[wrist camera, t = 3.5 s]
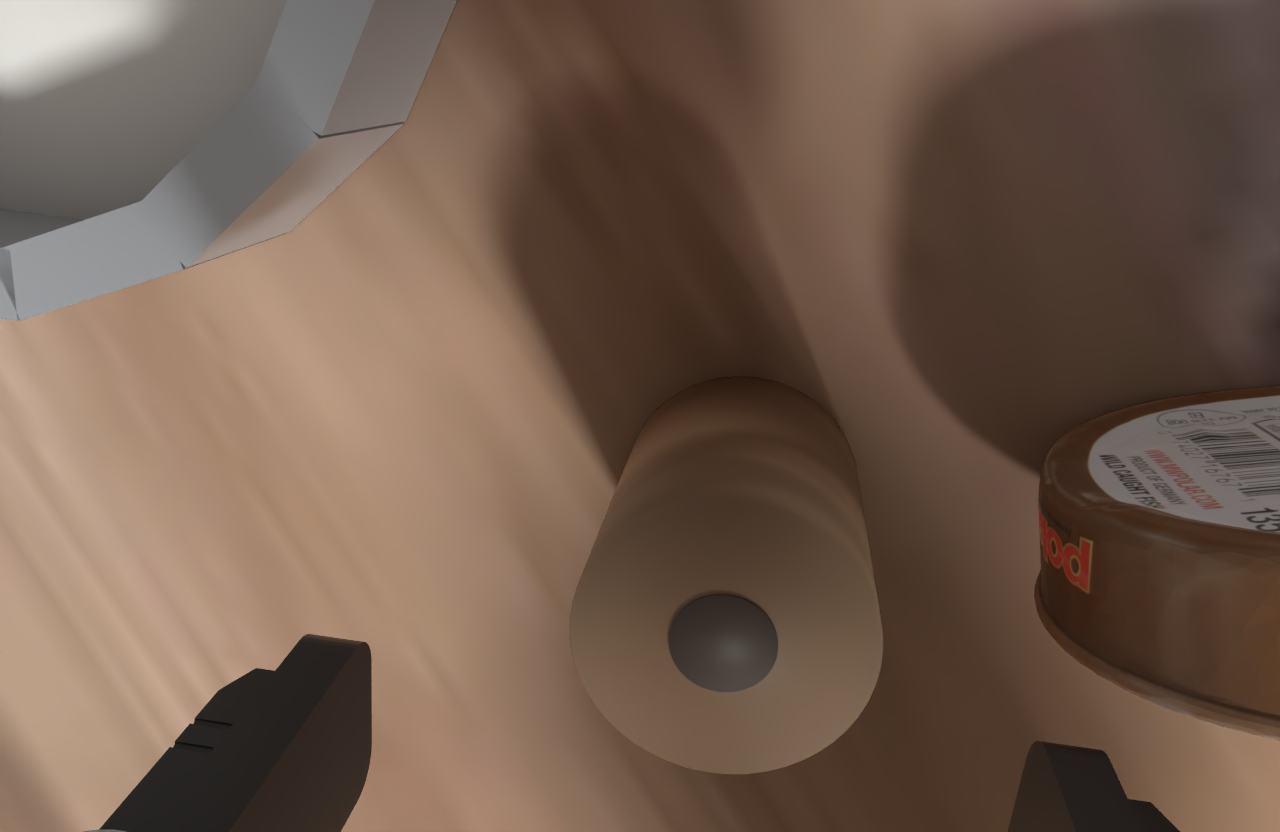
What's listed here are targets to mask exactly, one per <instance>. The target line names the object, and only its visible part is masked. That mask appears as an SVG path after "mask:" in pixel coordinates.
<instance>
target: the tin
mask: <svg viewBox="0 0 1280 832" xmlns="http://www.w3.org/2000/svg"><path fill="white" fill-rule="evenodd" d="M1038 508H1039V528H1040V550H1041V570H1040V573H1039V575H1038V577H1037V581H1036V584H1035V592H1034V597H1035V603H1036V608H1037V611H1038V614H1039V617H1040V619H1041V621H1042V623H1043V625H1044V627H1045V628H1046V630H1047V631H1048V632H1049V633H1050V635H1051V636H1052V637H1053V638H1054V639H1055V640H1056V642H1057V643H1058V644H1059V645H1060V646H1061V647H1062V648H1063V649H1064V650H1065V651H1066V652H1067V653H1069V654H1070V655H1071V656H1072V657H1074V658H1075V659H1076V660H1077V661H1079V662H1080V663H1081V664H1083V665H1084V666H1086V667H1088V668H1089V669H1091V670H1093V671H1094V672H1095V673H1096V674H1097V675H1099V676H1101V677H1103V678H1105V679H1107V680H1109V681H1111V682H1113V683H1115V684H1116V685H1118V686H1120V687H1122V688H1123V689H1125V690H1127V691H1129V692H1131V693H1133V694H1135V695H1138V696H1140V697H1142V698H1145V699H1147V700H1149V701H1152V702H1153V703H1156V704H1158V705H1160V706H1162V707H1164V708H1167V709H1170V710H1173V711H1176V712H1178V713H1181V714H1184V715H1188V716H1191V717H1194V718H1196V719H1199V720H1202V721H1207V722H1211V723H1213V724H1216V725H1219V726H1223V727H1227V728H1231V729H1235V730H1239V731H1243V732H1246V733H1250V734H1253V735H1259V736H1263V737H1267V738H1271V739H1275V740H1279V741H1280V386H1272V387H1260V388H1249V389H1237V390H1225V391H1218V392H1210V393H1202V394H1195V395H1188V396H1181V397H1174V398H1167V399H1162V400H1157V401H1152V402H1147V403H1143V404H1138V405H1134V406H1130V407H1126V408H1123V409H1119V410H1116V411H1112V412H1109V413H1106V414H1104V415H1101V416H1099V417H1096V418H1093V419H1091V420H1089V421H1087V422H1084V423H1082V424H1080V425H1079V426H1077V427H1075V428H1074V429H1072V430H1070V431H1069V432H1068V433H1066V434H1065V435H1063V436H1062V437H1061V438H1060V439H1059V440H1057V441H1056V443H1055V444H1054V445H1053V446H1052V447H1051V449H1050V450H1049V452H1048V453H1047V456H1046V458H1045V461H1044V464H1043V467H1042V470H1041V477H1040V484H1039V498H1038Z"/></svg>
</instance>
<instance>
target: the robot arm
mask: <svg viewBox="0 0 1280 832" xmlns="http://www.w3.org/2000/svg"><path fill="white" fill-rule="evenodd" d="M371 746H372V713H371V651H370V648H369V645H368V644H367V643H366V642H360V641H353V640H347V639H340V638H333V637H326V636H319V635H312V634H307V635H305V636H303V637H302V638H301V639H300V640H299V642H298V643H297V644H296V646H295V647H294V648H293V649H292V651H291V652H290V653H289V654H288V656H287V657H286V658H285V659H284V661H283V662H282V663H281V664H280V666H279V667H278V668H277V669H276V671H272V670H265V669H258V668H256V669H254V670H252V671H251V672H249V673H247V674H245V675H244V676H242V677H240V678H239V679H237V680H235V681H234V682H232V683H230V684H229V685H227V686H225V687H223V688H222V689H220V690H219V691H218V692H217V693H216V694H215V695H214V696H213V698H212V699H211V700H210V701H209V702H208V703H207V705H206V706H205V707H204V708H203V709H202V710H201V712H200V713H199V714H198V715H197V716H196V717H195V721H194V724H189V726H188V727H187V728H186V729H185V730H184V731H183V733H182V734H181V735H180V736H179V737H178V738H177V740H176V741H175V745H174V747H173V748H172V747H170V748H169V749H168V750H167V751H166V752H165V754H164V755H163V756H162V757H161V758H160V759H159V761H158V762H157V763H156V764H155V765H154V766H153V768H152V769H151V770H150V771H149V772H148V773H147V775H146V776H145V777H144V778H143V779H142V780H141V781H140V783H139V784H138V785H137V786H136V787H135V788H134V790H133V791H132V792H131V793H130V794H129V795H128V797H127V798H126V799H125V800H124V801H123V802H122V804H121V805H120V806H119V807H118V808H117V809H116V811H115V812H114V813H113V814H112V815H111V816H110V818H109V819H108V820H107V821H106V822H105V823H104V825H103V826H102V827H101V828H100V829H99V830H92V831H85V832H341V830H342V828H343V826H344V825H345V823H346V821H347V819H348V817H349V816H350V814H351V812H352V810H353V808H354V806H355V805H356V803H357V801H358V799H359V797H360V795H361V792H362V790H363V787H364V784H365V781H366V777H367V773H368V769H369V764H370V757H371ZM1008 832H1180V831H1179V830H1178V829H1177V828H1176V827H1175V826H1174V825H1173V824H1172V823H1171V822H1170V821H1169V820H1168V819H1167V818H1166V817H1165V816H1164V815H1163V814H1162V813H1161V812H1160V811H1159V810H1158V809H1157V808H1156V807H1155V806H1154V805H1153V804H1152V803H1151V802H1144V801H1137V800H1131V799H1127V797H1126V794H1125V792H1124V790H1123V788H1122V786H1121V784H1120V781H1119V779H1118V777H1117V775H1116V773H1115V770H1114V768H1113V766H1112V764H1111V762H1110V760H1109V758H1108V756H1107V754H1106V753H1105V752H1104V751H1102V750H1096V749H1089V748H1082V747H1075V746H1068V745H1061V744H1054V743H1047V742H1040V741H1036V742H1034V743H1033V744H1032V746H1031V748H1030V750H1029V752H1028V755H1027V759H1026V762H1025V766H1024V770H1023V774H1022V778H1021V782H1020V786H1019V790H1018V794H1017V798H1016V802H1015V806H1014V810H1013V814H1012V818H1011V821H1010V825H1009V829H1008Z"/></svg>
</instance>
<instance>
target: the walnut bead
mask: <svg viewBox="0 0 1280 832" xmlns="http://www.w3.org/2000/svg"><path fill="white" fill-rule="evenodd" d="M570 643H571V650H572V656H573V660H574V663H575V666H576V670H577V673H578V675H579V677H580V680H581V682H582V684H583V687H584V689H585V690H586V692H587V694H588V695H589V697H590V699H591V700H592V702H593V703H594V705H595V706H596V707H597V709H598V710H599V711H600V712H601V714H602V715H603V716H604V717H605V719H606V720H607V721H608V722H609V723H610V724H611V725H612V726H613V727H614V728H615V729H616V730H618V731H619V732H620V733H621V734H622V735H624V736H625V737H626V738H627V739H629V740H630V741H631V742H633V743H634V744H636V745H637V746H639V747H640V748H642V749H644V750H645V751H647V752H649V753H650V754H652V755H655V756H657V757H659V758H661V759H663V760H665V761H668V762H670V763H673V764H676V765H679V766H682V767H685V768H689V769H694V770H698V771H703V772H709V773H718V774H751V773H760V772H766V771H771V770H775V769H779V768H783V767H786V766H789V765H792V764H794V763H797V762H800V761H802V760H804V759H806V758H808V757H810V756H812V755H814V754H816V753H818V752H820V751H821V750H823V749H824V748H826V747H827V746H829V745H830V744H831V743H833V742H834V741H835V740H837V739H838V738H839V737H840V736H841V735H842V734H843V733H844V732H845V731H847V730H848V729H849V727H850V726H851V725H852V724H853V723H854V722H855V720H856V719H857V718H858V717H859V716H860V714H861V712H862V711H863V709H864V708H865V706H866V705H867V703H868V701H869V700H870V697H871V695H872V693H873V691H874V688H875V686H876V684H877V680H878V676H879V673H880V669H881V664H882V656H883V628H882V622H881V616H880V610H879V604H878V598H877V591H876V585H875V579H874V573H873V567H872V561H871V554H870V548H869V542H868V536H867V530H866V524H865V518H864V511H863V505H862V499H861V493H860V487H859V481H858V474H857V469H856V464H855V459H854V456H853V453H852V450H851V448H850V445H849V443H848V441H847V439H846V437H845V435H844V433H843V432H842V430H841V429H840V428H839V426H838V425H837V423H836V422H835V421H834V419H833V418H832V417H831V416H830V415H829V414H828V413H827V412H826V411H825V410H824V409H823V408H822V407H821V406H819V405H818V404H817V403H816V402H815V401H814V400H812V399H811V398H809V397H807V396H806V395H804V394H803V393H801V392H799V391H797V390H795V389H793V388H791V387H789V386H787V385H784V384H781V383H778V382H775V381H772V380H767V379H761V378H756V377H742V376H738V377H724V378H718V379H713V380H708V381H705V382H702V383H699V384H696V385H694V386H691V387H689V388H687V389H685V390H683V391H681V392H679V393H678V394H676V395H675V396H673V397H672V398H670V399H669V400H667V401H666V402H665V403H664V404H663V405H662V406H660V407H659V408H658V409H657V410H656V411H655V412H654V414H653V415H652V416H651V417H650V418H649V419H648V420H647V422H646V423H645V425H644V426H643V428H642V429H641V431H640V433H639V435H638V437H637V439H636V441H635V443H634V445H633V448H632V450H631V453H630V455H629V458H628V460H627V463H626V465H625V468H624V470H623V473H622V475H621V478H620V480H619V483H618V485H617V488H616V490H615V493H614V495H613V498H612V500H611V503H610V505H609V508H608V510H607V513H606V515H605V518H604V520H603V523H602V525H601V528H600V530H599V533H598V535H597V538H596V540H595V543H594V545H593V548H592V550H591V553H590V555H589V558H588V560H587V563H586V565H585V568H584V570H583V573H582V575H581V578H580V580H579V583H578V586H577V589H576V592H575V595H574V599H573V602H572V608H571V615H570Z"/></svg>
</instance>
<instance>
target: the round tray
mask: <svg viewBox="0 0 1280 832" xmlns="http://www.w3.org/2000/svg"><path fill="white" fill-rule="evenodd" d="M456 2H457V0H0V319H6V320H14V321H19V320H21V321H22V320H25V319H28V318H31V317H34V316H37V315H41V314H44V313H47V312H50V311H53V310H56V309H60V308H63V307H66V306H69V305H72V304H76V303H79V302H82V301H85V300H88V299H91V298H95V297H98V296H101V295H104V294H107V293H110V292H114V291H117V290H120V289H123V288H126V287H130V286H133V285H136V284H139V283H142V282H145V281H149V280H152V279H155V278H158V277H161V276H164V275H168V274H171V273H174V272H177V271H180V270H183V269H186V268H189V267H192V266H195V265H198V264H201V263H203V262H206V261H209V260H212V259H215V258H218V257H220V256H223V255H226V254H229V253H232V252H235V251H237V250H240V249H243V248H246V247H249V246H252V245H254V244H257V243H260V242H263V241H266V240H269V239H271V238H274V237H277V236H280V235H283V234H286V233H287V232H290V231H291V230H292V229H293V228H294V227H295V226H296V225H297V224H298V223H299V222H301V221H302V220H303V219H304V218H305V217H306V216H307V215H308V214H309V213H310V212H311V211H312V210H313V209H314V208H315V207H316V206H318V205H319V204H320V203H321V202H322V201H323V200H324V199H325V198H326V197H327V196H328V195H329V194H330V193H331V192H332V191H333V190H335V189H336V188H337V187H338V186H339V185H340V184H341V183H342V182H343V181H344V180H345V179H346V178H347V177H348V176H349V175H350V174H351V173H353V172H354V171H355V170H356V169H357V168H358V167H359V166H360V165H361V164H362V163H363V162H364V161H365V160H366V159H367V158H368V157H370V156H371V155H372V154H373V153H374V152H375V151H376V150H377V149H378V148H379V147H380V146H381V145H382V144H383V143H384V142H385V141H387V140H388V139H389V138H390V137H391V136H392V135H393V134H394V133H395V132H396V131H397V130H398V129H399V128H400V127H401V126H402V125H404V123H403V122H405V121H406V120H407V118H408V115H409V113H410V111H411V108H412V106H413V104H414V101H415V99H416V96H417V94H418V92H419V89H420V87H421V85H422V82H423V80H424V78H425V75H426V73H427V70H428V68H429V66H430V63H431V61H432V59H433V56H434V54H435V52H436V49H437V47H438V44H439V42H440V40H441V37H442V35H443V33H444V30H445V28H446V26H447V23H448V21H449V19H450V16H451V14H452V11H453V9H454V7H455V4H456Z"/></svg>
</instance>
